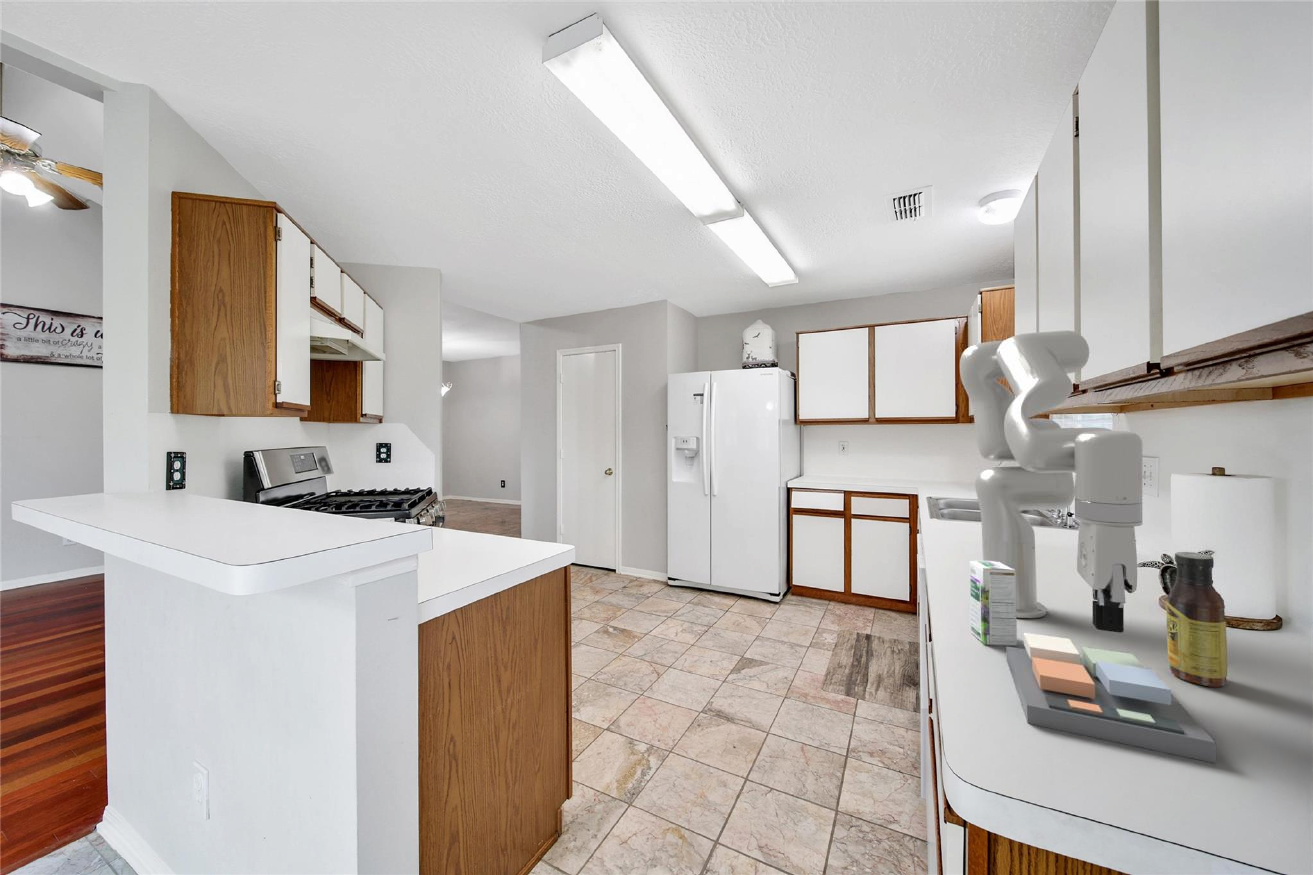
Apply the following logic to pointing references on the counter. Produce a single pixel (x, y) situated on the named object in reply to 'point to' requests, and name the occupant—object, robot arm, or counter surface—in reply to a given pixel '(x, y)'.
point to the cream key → (1051, 648)
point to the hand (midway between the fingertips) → (1107, 628)
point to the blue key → (1133, 682)
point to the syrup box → (993, 603)
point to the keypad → (1110, 715)
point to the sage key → (1107, 658)
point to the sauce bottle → (1196, 623)
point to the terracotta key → (1063, 677)
